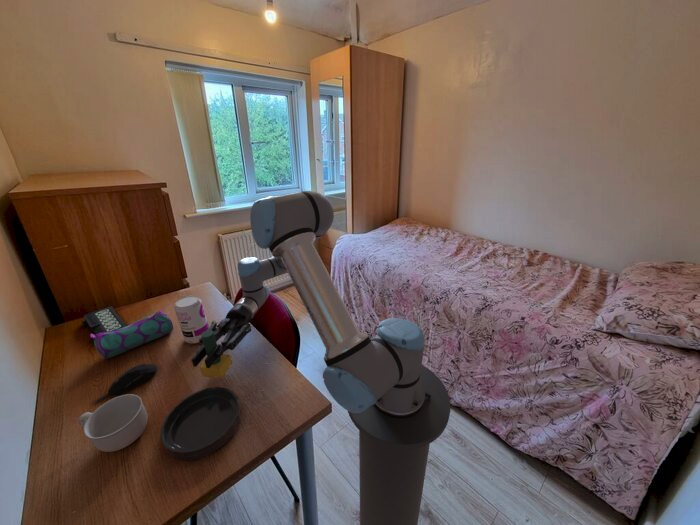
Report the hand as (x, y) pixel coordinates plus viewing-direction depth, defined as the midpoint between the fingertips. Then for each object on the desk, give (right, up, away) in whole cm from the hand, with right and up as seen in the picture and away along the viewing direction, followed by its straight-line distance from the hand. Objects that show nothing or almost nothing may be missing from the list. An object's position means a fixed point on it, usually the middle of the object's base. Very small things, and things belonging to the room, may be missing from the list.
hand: (200, 363), depth 77 cm
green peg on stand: (+1, -5, +8) cm, 9 cm away
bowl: (+5, -13, -7) cm, 15 cm away
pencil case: (-32, -1, +22) cm, 39 cm away
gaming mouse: (-24, -8, +6) cm, 26 cm away
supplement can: (-14, +1, +25) cm, 28 cm away
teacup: (-15, -15, -8) cm, 22 cm away
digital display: (-52, +3, +31) cm, 61 cm away
